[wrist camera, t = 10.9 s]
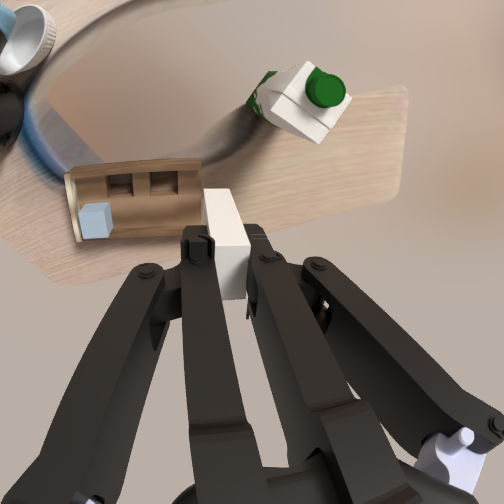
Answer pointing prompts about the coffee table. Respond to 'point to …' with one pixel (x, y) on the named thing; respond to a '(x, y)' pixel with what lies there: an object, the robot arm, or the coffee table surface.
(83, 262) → the coffee table surface
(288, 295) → the robot arm
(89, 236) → the blue block
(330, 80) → the milk carton
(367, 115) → the coffee table surface
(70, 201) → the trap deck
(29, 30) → the ramekin
